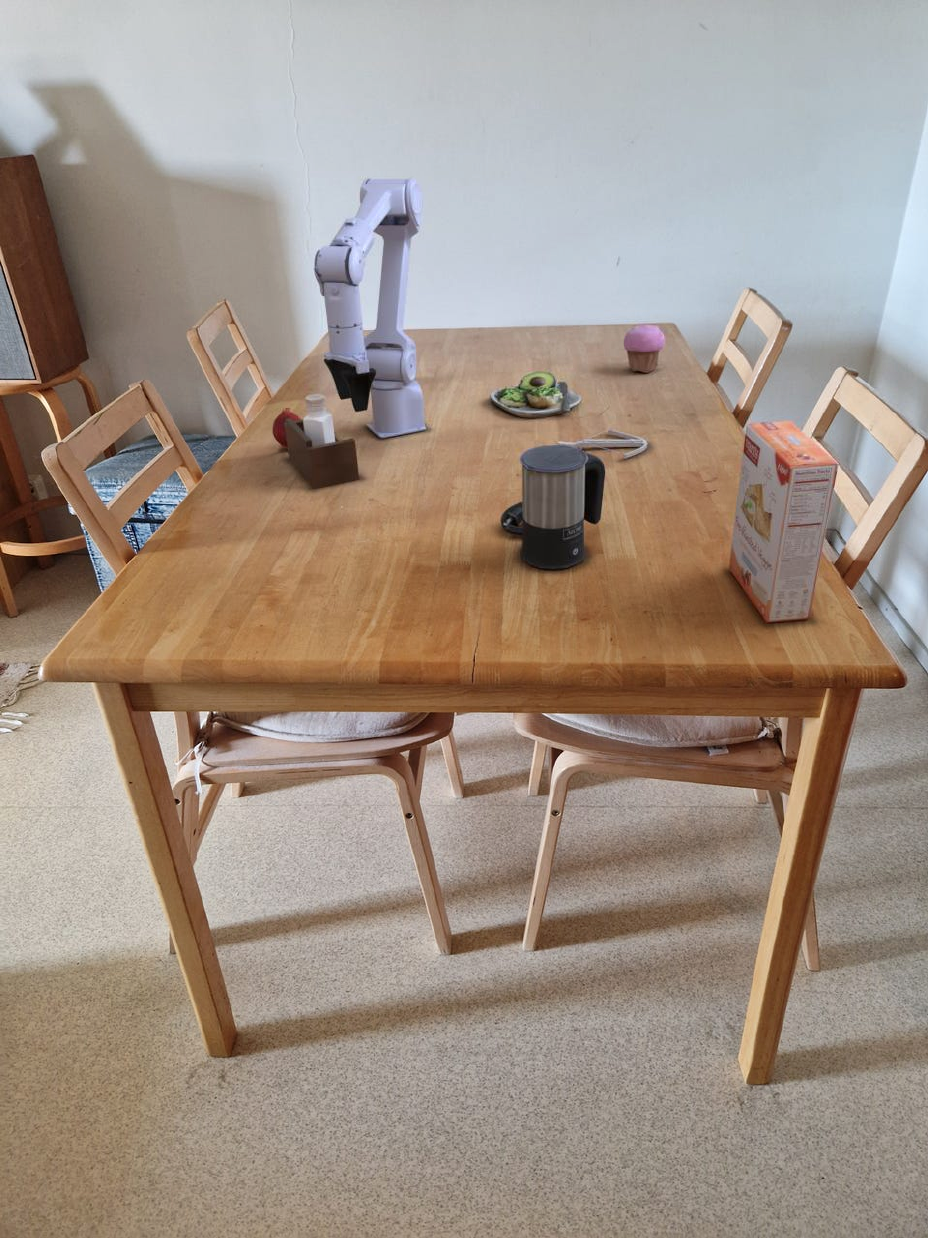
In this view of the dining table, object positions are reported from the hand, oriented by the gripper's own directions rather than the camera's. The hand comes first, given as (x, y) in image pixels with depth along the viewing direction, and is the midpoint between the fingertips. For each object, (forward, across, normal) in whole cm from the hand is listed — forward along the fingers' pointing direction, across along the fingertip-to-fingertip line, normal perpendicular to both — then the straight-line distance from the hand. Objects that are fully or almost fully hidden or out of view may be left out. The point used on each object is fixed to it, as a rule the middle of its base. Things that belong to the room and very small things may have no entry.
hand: (353, 404), depth 154 cm
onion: (+11, -12, -9) cm, 18 cm away
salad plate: (+11, -11, +42) cm, 45 cm away
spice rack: (+10, 0, -7) cm, 12 cm away
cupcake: (+11, -18, +73) cm, 76 cm away
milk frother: (+10, +44, +12) cm, 47 cm away
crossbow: (+11, +17, +40) cm, 45 cm away
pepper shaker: (+7, 0, -7) cm, 10 cm away
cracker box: (+10, +71, +30) cm, 78 cm away
